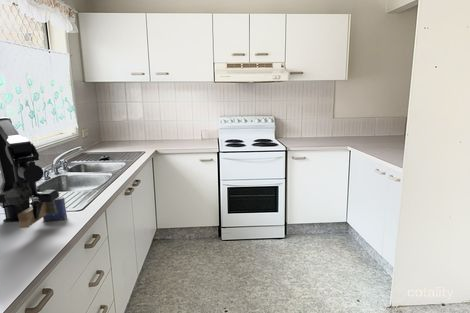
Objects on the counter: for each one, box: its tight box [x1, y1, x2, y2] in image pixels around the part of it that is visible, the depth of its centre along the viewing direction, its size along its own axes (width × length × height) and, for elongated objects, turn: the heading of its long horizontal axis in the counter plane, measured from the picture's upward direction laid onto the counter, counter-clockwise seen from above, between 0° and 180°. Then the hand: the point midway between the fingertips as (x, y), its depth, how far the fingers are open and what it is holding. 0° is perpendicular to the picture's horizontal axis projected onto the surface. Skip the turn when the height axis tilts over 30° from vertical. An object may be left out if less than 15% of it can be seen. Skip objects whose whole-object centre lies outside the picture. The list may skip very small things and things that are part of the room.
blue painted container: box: [42, 196, 68, 222], centre depth 126 cm, size 9×3×11 cm, turn 91°
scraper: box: [18, 199, 57, 229], centre depth 114 cm, size 13×8×6 cm, turn 0°
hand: (32, 218), depth 113 cm, fingers closed on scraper, 2 cm apart
